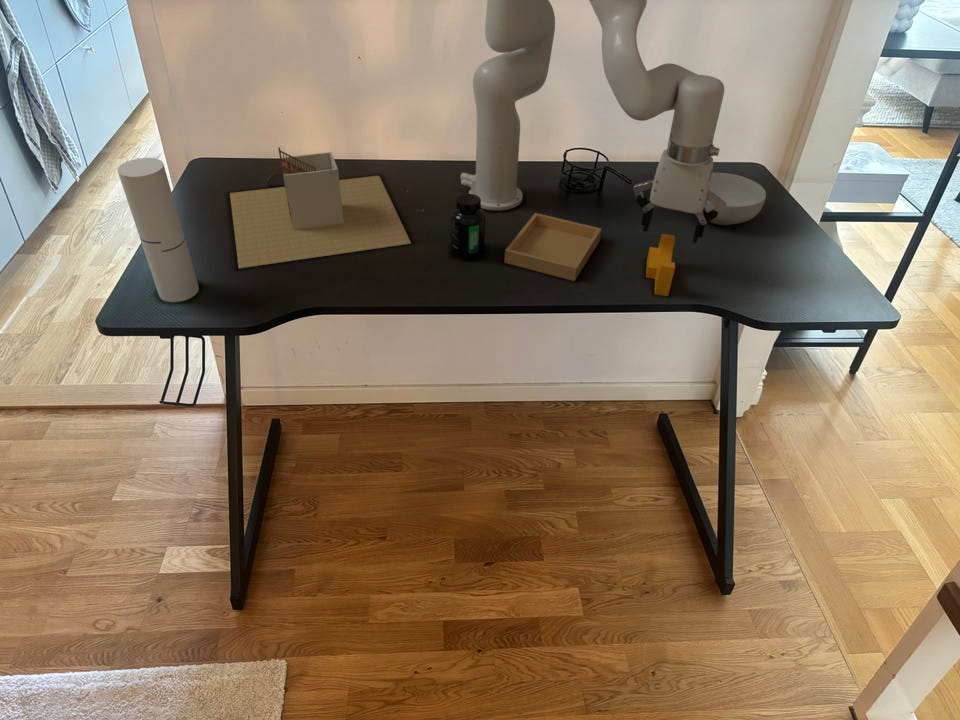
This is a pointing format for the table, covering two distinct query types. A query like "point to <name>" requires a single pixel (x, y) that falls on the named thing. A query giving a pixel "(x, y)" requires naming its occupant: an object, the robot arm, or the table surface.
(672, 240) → the yellow stepped block
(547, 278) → the table surface
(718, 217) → the cereal bowl
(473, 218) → the supplement bottle
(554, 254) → the tray
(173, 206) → the cylindrical container
